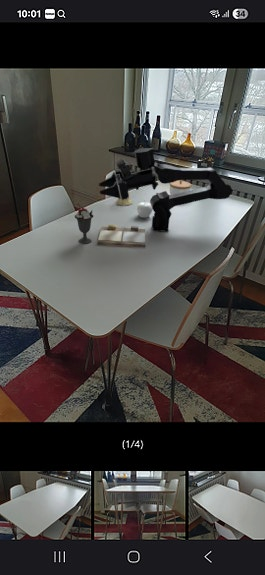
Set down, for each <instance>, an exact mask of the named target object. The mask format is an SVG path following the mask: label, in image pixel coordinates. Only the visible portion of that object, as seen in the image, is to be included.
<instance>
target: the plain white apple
mask: <svg viewBox="0 0 265 575" xmlns="http://www.w3.org/2000/svg"><path fill="white" fill-rule="evenodd" d="M136 211H137V214H138V216H139V217H140V218H142V219H143V218H144V219H146V218H147V219H148V218H149V217H150V216H151V214H152V212H153V209H152V206H151V204H150V202H147V201H146V199H143V201H142V202H140V203H138V204H137V205H136Z"/></svg>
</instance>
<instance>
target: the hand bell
mask: <svg viewBox="0 0 265 575" xmlns="http://www.w3.org/2000/svg"><path fill="white" fill-rule="evenodd" d="M128 194H129V196H128V198H127V199H124V200H122V198H121V197H120V198H121V199H119V198H117V200H116V201H115V204H116V205H117V206H122V207H123V206H124V207H126V206H130V205H133V201H132V200H131V198H130V193H129V191H128Z"/></svg>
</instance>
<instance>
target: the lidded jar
mask: <svg viewBox="0 0 265 575" xmlns="http://www.w3.org/2000/svg"><path fill="white" fill-rule="evenodd" d="M191 186H192V185H191V183H190V182H188V181H186V180H178V181H175V182H172V183H169V195H174V194H178V193H183V192H187V191H191Z"/></svg>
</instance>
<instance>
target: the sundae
mask: <svg viewBox="0 0 265 575" xmlns="http://www.w3.org/2000/svg"><path fill="white" fill-rule="evenodd" d="M77 206H79V208H78V210H77V212H76V214H75V215H74V218H75V219H76V220H77V226H78V230H79V232H80V233H82V236H83V237H82V238H80V239H78V243H80V244H81V243H82V245H88V244H90V243H92V239H91V238H89V237H87V233H89V232H90V230H91V227H92V225H91V224H92V219H93V218H94V214H93V210H91V211H90V210H88V209H87V208H85V207H82V205H81V204H80V203H78V204H77Z"/></svg>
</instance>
